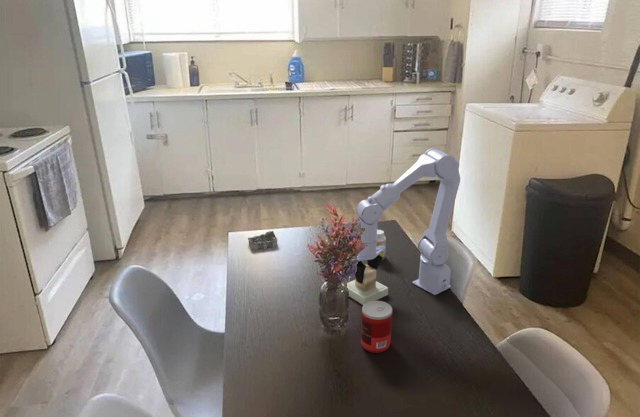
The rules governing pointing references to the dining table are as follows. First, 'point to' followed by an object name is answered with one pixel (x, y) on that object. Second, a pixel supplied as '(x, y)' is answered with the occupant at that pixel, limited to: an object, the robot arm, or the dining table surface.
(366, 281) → the beech block
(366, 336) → the canned food
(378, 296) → the plinth
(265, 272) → the dining table surface
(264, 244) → the egg carton
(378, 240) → the supplement bottle
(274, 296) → the dining table surface
